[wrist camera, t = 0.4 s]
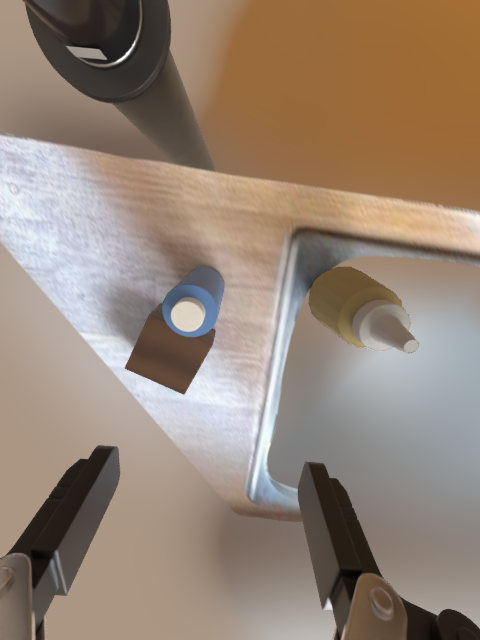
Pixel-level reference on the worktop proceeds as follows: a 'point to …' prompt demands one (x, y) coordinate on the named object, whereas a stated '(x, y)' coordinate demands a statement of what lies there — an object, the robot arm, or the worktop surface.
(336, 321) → the squeeze bottle
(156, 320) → the walnut block
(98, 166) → the worktop surface
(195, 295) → the blue bottle
